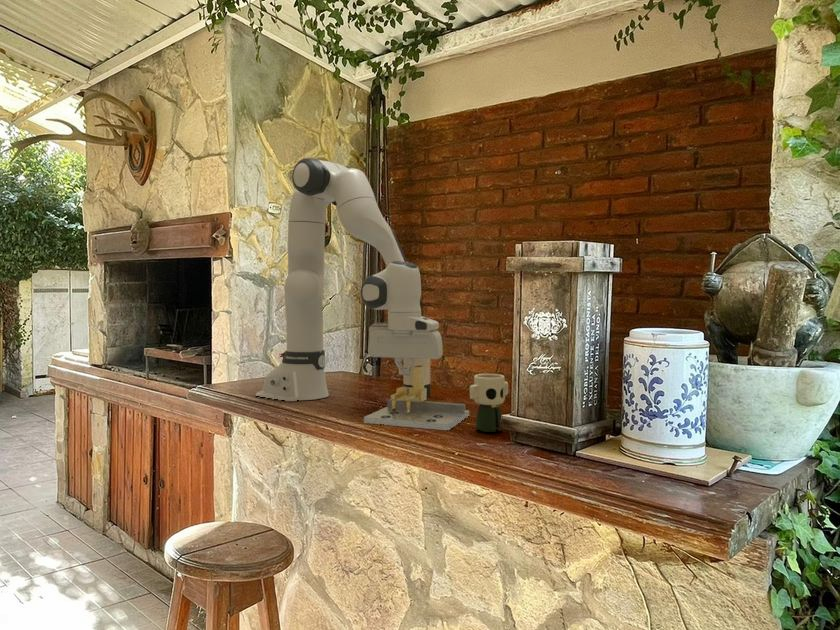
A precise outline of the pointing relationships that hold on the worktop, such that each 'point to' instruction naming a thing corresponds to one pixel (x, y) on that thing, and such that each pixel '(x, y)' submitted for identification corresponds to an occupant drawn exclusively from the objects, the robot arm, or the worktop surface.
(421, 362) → the wine bottle
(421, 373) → the sliding leg
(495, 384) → the character mug
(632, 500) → the worktop surface
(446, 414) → the flange plate
